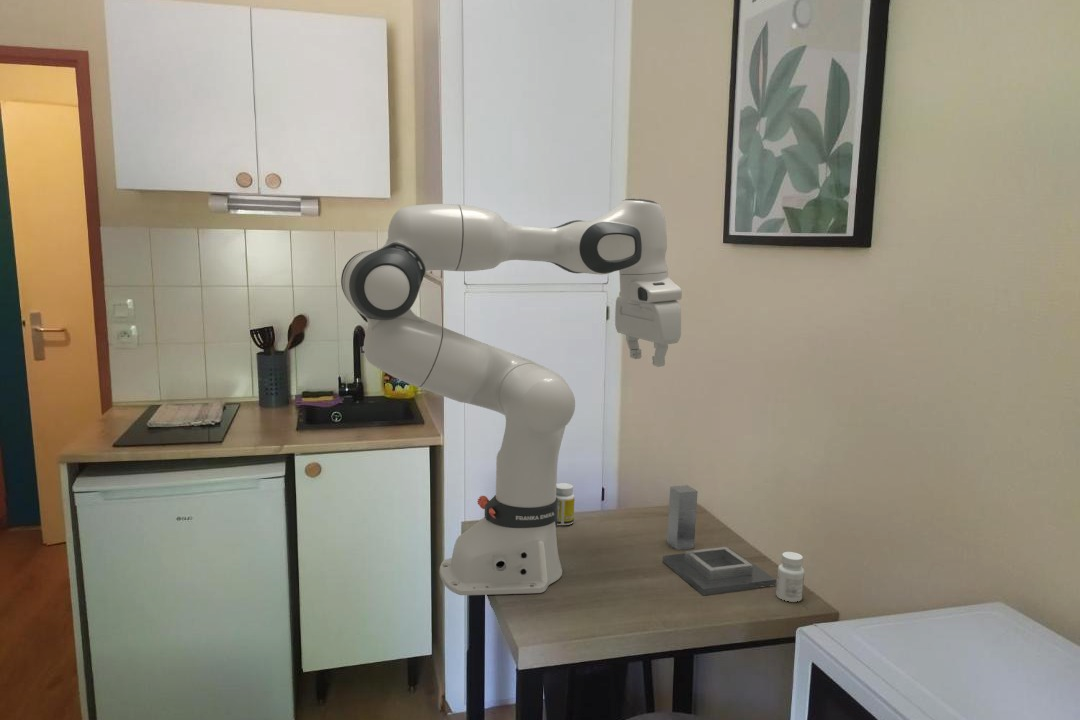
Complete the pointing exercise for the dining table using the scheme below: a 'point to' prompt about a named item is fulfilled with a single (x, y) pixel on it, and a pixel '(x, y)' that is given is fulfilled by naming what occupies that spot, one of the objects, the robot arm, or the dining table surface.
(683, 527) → the steel bar
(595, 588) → the dining table surface
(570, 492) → the supplement bottle
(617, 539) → the dining table surface
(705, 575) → the block
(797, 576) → the pill bottle
